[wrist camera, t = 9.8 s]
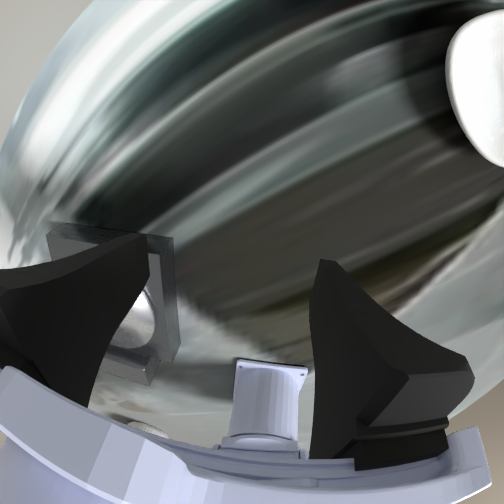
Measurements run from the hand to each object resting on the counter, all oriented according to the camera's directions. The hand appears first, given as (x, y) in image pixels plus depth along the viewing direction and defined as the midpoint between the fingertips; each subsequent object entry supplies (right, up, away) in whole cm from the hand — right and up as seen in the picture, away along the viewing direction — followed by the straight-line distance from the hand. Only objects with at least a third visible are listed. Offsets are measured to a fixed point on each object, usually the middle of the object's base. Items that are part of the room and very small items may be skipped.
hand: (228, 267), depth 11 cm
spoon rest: (+22, +19, 0) cm, 29 cm away
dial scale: (-13, -4, +16) cm, 21 cm away
